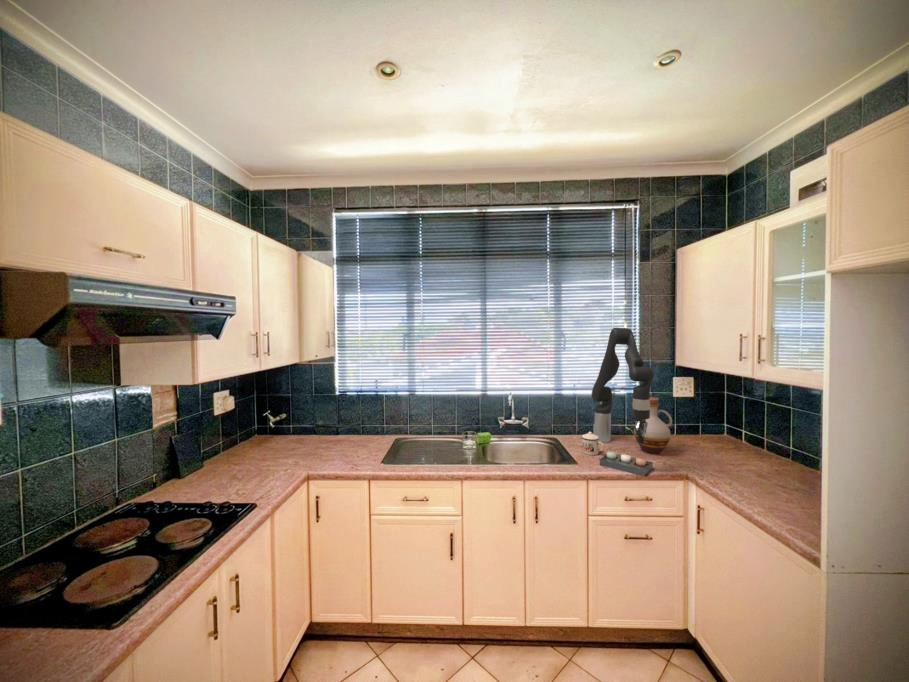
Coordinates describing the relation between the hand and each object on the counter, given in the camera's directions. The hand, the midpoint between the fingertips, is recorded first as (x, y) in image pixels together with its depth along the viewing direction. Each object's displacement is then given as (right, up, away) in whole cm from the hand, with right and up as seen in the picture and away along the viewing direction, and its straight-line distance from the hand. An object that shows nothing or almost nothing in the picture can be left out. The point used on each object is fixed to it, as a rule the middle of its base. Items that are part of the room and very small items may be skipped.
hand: (641, 443), depth 174 cm
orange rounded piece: (0, -11, 0) cm, 11 cm away
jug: (+21, -12, +26) cm, 36 cm away
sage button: (-10, -11, +10) cm, 18 cm away
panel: (-5, -13, +5) cm, 15 cm away
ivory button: (-5, -11, +5) cm, 13 cm away
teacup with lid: (-14, -13, +25) cm, 31 cm away
